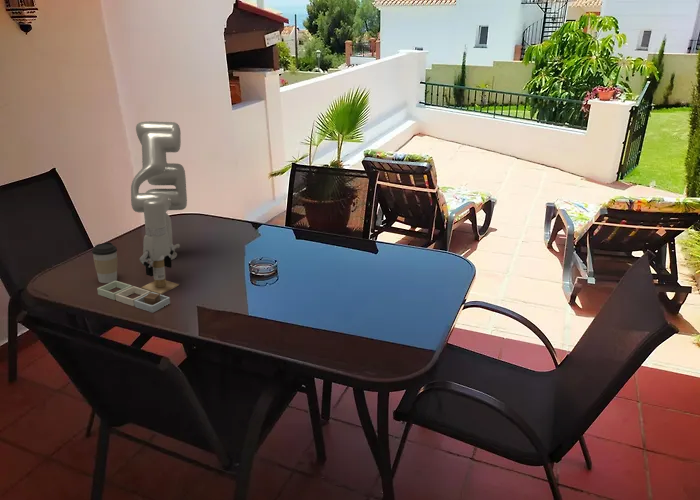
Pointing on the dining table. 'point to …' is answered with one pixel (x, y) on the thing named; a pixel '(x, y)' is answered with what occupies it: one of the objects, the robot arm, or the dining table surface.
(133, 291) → the tray cream
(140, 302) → the tray blue
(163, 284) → the sprinkles bottle
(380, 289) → the dining table surface
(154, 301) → the walnut cube
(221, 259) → the dining table surface
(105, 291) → the tray sage
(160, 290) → the coaster
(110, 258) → the coffee cup
